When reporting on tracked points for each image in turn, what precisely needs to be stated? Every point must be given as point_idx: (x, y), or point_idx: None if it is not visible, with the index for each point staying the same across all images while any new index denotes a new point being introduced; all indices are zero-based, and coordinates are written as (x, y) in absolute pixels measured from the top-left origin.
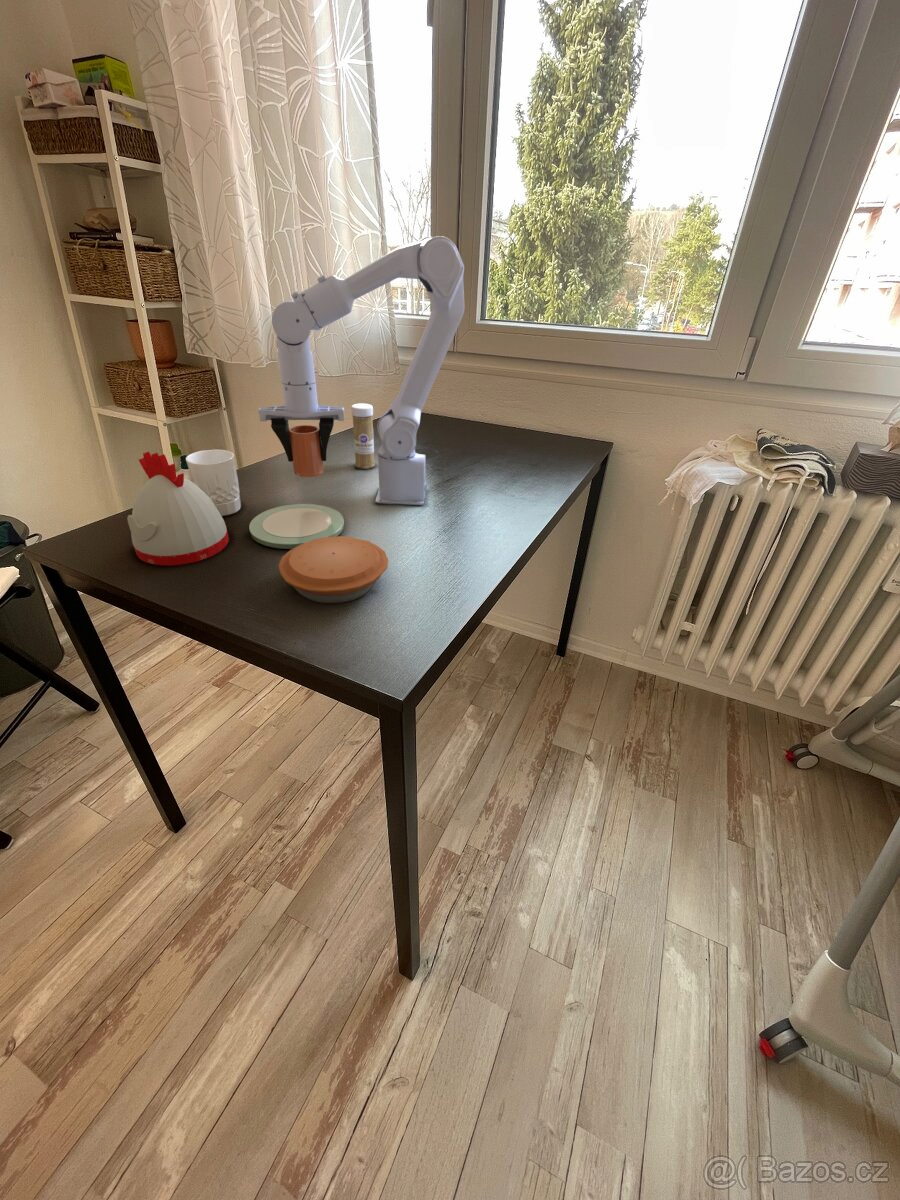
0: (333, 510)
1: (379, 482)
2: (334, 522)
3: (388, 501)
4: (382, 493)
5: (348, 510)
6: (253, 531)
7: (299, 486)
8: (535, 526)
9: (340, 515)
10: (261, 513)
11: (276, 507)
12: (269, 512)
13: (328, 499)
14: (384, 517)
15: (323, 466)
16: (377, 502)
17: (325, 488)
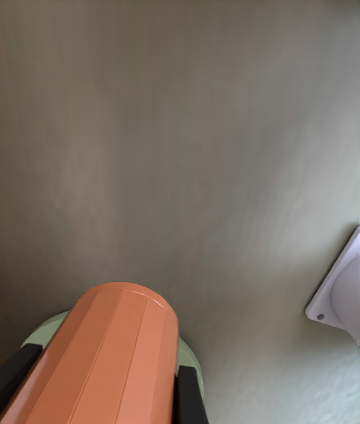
0: (188, 363)
1: (356, 323)
2: None
3: (338, 325)
4: (340, 316)
5: (226, 327)
6: None
7: (108, 143)
8: None
9: (200, 385)
10: (27, 342)
11: (55, 323)
12: (43, 341)
13: (188, 259)
14: (295, 372)
15: (178, 352)
16: (309, 318)
17: (190, 179)
